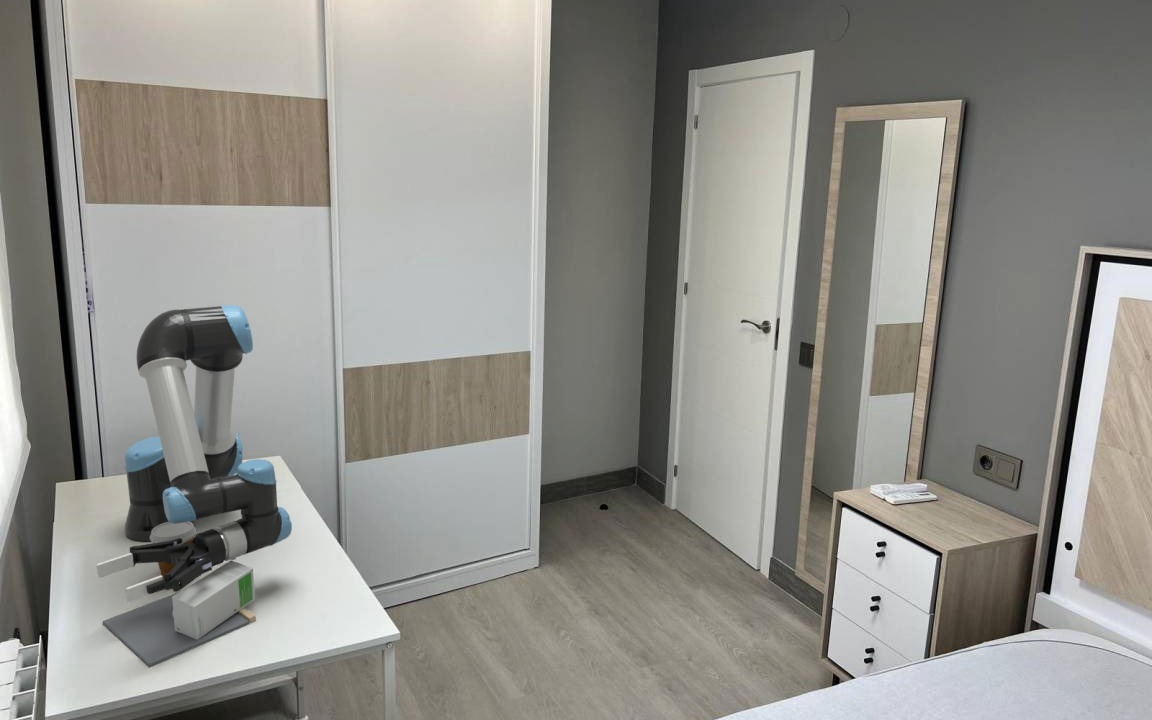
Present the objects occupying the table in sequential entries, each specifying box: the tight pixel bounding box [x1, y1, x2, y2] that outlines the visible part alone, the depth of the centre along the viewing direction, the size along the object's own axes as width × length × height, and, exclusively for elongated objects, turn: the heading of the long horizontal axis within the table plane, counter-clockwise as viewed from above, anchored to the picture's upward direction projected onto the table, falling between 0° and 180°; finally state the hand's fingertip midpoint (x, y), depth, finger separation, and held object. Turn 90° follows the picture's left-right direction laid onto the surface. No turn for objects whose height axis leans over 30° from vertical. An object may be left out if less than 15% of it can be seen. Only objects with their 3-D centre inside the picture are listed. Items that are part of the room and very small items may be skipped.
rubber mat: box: [102, 591, 257, 668], centre depth 172 cm, size 22×22×1 cm
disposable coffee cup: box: [150, 521, 197, 583], centre depth 189 cm, size 10×10×12 cm
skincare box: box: [172, 560, 256, 640], centre depth 172 cm, size 8×7×16 cm
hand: (111, 582), depth 160 cm, fingers open, 13 cm apart
